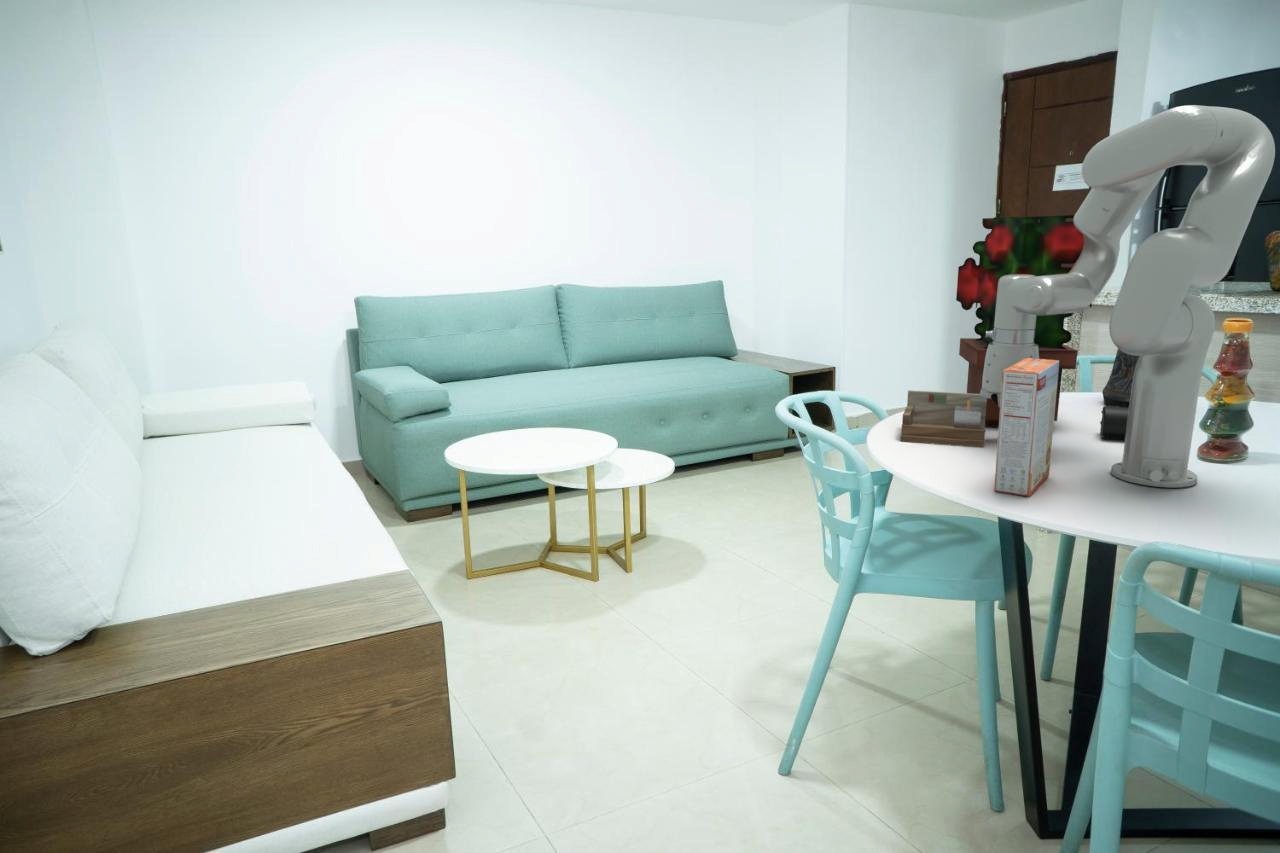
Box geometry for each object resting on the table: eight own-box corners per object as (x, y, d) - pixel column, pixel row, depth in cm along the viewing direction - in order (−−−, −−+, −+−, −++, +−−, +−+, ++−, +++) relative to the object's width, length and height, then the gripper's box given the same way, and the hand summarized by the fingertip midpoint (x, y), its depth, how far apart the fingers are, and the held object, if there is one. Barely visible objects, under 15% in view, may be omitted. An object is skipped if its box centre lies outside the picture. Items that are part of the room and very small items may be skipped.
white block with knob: (979, 435, 161) (981, 404, 160) (953, 433, 163) (955, 403, 162) (979, 430, 166) (981, 400, 164) (954, 428, 168) (956, 398, 166)
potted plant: (1077, 434, 166) (1101, 214, 155) (966, 431, 170) (982, 217, 160) (1046, 411, 187) (1066, 216, 176) (948, 409, 191) (961, 219, 181)
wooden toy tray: (983, 447, 157) (987, 406, 155) (900, 441, 164) (902, 402, 162) (984, 431, 170) (987, 393, 168) (906, 426, 176) (908, 389, 174)
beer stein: (1160, 399, 196) (1174, 298, 190) (1203, 417, 178) (1219, 306, 172) (1090, 399, 199) (1101, 299, 193) (1124, 416, 180) (1138, 307, 174)
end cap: (1101, 441, 160) (1105, 409, 158) (1097, 433, 166) (1100, 402, 165) (1159, 445, 156) (1163, 412, 154) (1152, 437, 162) (1156, 405, 161)
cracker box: (1013, 471, 142) (1024, 356, 137) (1050, 477, 138) (1062, 359, 133) (990, 491, 131) (1000, 368, 126) (1029, 498, 127) (1041, 371, 123)
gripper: (973, 338, 157) (966, 427, 161) (1057, 340, 151) (1047, 433, 155) (973, 333, 163) (967, 419, 168) (1054, 335, 157) (1045, 424, 162)
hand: (1005, 425), depth 161 cm, fingers closed
